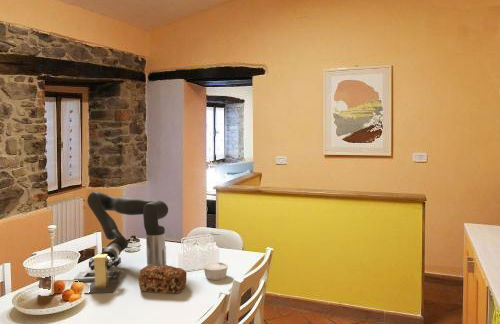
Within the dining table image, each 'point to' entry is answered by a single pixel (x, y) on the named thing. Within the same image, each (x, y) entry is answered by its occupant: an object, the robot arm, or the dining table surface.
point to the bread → (162, 279)
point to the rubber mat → (109, 289)
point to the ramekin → (215, 270)
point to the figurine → (45, 283)
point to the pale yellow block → (101, 271)
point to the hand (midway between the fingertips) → (99, 267)
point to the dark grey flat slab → (83, 275)
